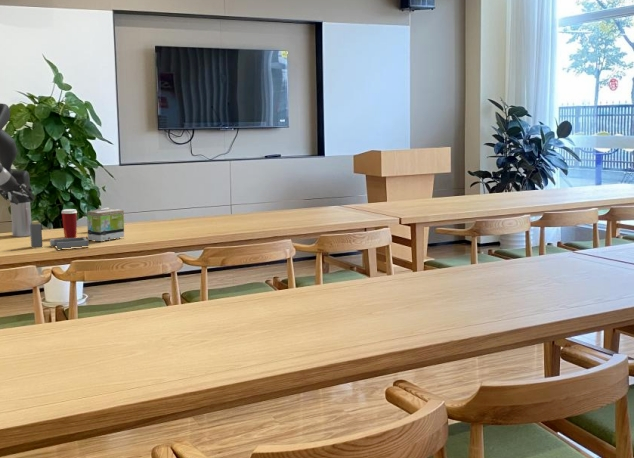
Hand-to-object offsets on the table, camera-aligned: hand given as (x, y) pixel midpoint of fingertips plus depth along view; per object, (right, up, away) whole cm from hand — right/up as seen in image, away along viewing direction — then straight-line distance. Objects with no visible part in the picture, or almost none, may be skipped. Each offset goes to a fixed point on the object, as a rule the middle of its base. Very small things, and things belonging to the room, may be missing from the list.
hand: (25, 201), depth 314 cm
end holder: (+19, -21, +5) cm, 29 cm away
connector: (+3, -21, +6) cm, 22 cm away
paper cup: (+9, -17, +31) cm, 37 cm away
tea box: (+29, -18, +26) cm, 43 cm away
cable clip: (+11, -21, +8) cm, 25 cm away
